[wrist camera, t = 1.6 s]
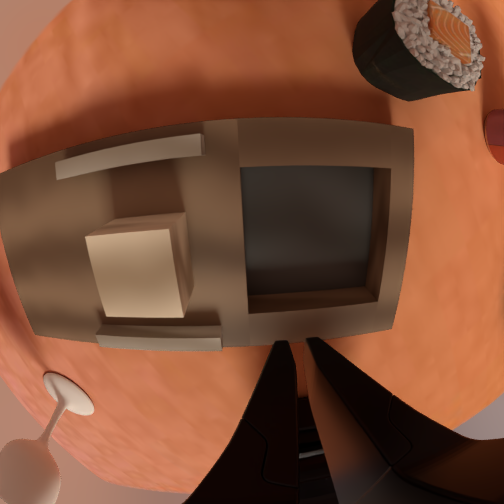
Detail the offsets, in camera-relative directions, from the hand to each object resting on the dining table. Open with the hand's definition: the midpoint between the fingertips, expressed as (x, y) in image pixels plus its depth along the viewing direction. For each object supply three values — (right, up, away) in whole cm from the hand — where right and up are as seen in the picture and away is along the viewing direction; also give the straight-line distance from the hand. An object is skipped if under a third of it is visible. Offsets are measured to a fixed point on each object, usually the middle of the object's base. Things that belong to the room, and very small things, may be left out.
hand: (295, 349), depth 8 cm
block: (-8, +3, +9) cm, 12 cm away
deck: (-7, +4, +12) cm, 15 cm away
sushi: (+10, +19, +8) cm, 23 cm away
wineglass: (-27, -17, +19) cm, 37 cm away
